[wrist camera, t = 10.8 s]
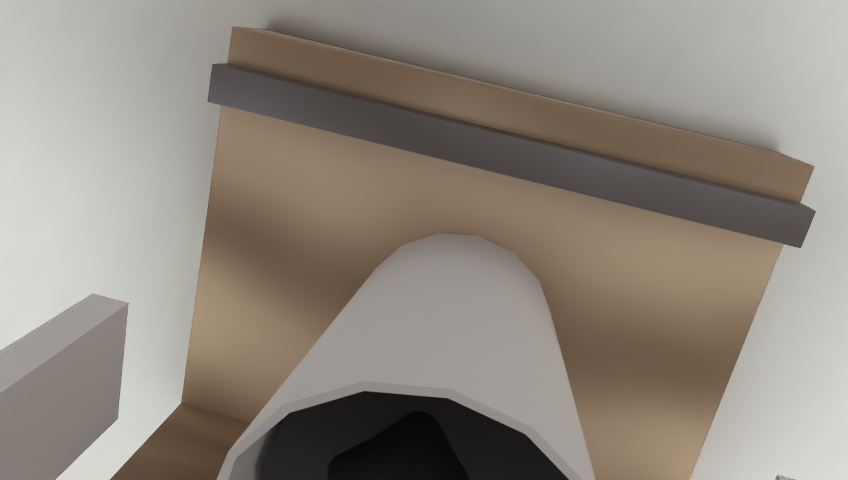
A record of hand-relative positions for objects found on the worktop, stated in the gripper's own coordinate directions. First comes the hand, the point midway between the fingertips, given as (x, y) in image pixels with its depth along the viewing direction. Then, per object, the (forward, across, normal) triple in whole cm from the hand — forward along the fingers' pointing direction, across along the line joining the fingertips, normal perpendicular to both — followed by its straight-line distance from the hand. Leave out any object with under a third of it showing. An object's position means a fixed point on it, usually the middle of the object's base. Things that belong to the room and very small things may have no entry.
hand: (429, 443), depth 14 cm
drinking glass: (+7, 0, -1) cm, 7 cm away
